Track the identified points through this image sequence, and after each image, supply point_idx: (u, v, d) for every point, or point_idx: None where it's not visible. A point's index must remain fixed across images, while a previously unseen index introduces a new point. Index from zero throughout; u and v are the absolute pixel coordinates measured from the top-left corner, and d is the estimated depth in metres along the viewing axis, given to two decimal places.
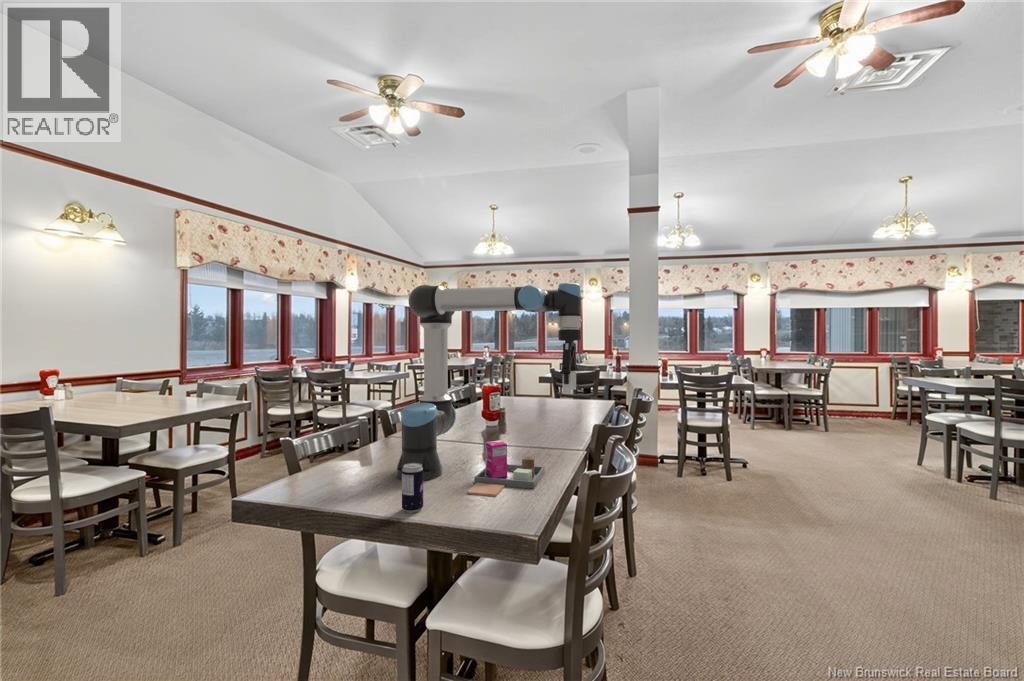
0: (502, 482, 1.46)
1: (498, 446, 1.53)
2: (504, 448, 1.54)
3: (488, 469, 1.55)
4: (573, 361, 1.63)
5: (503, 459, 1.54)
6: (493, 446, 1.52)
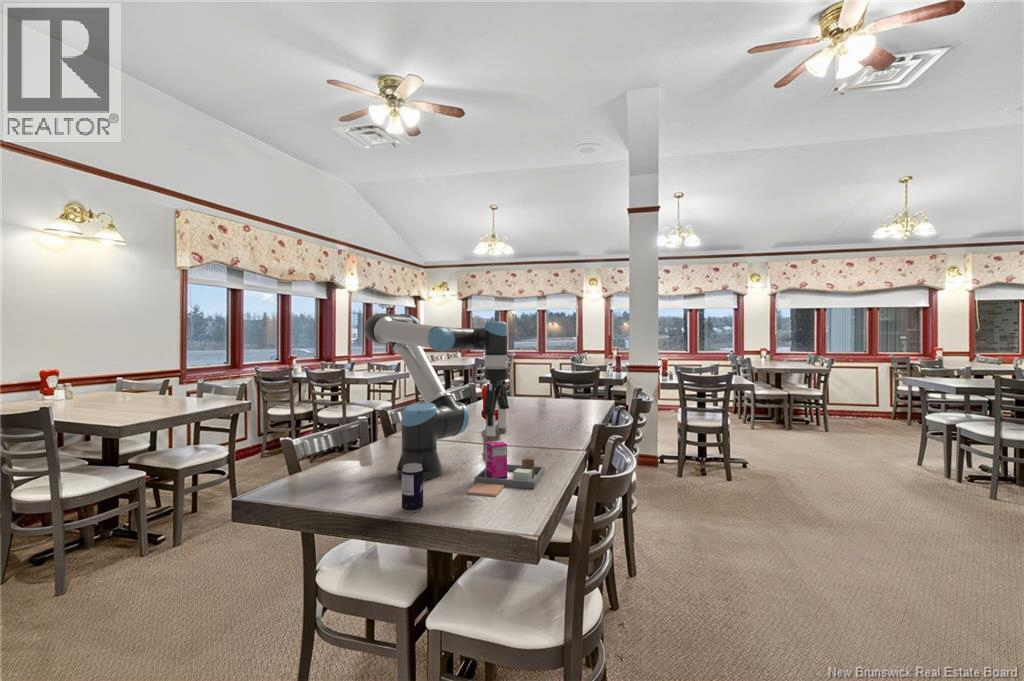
0: (502, 482, 1.46)
1: (498, 446, 1.53)
2: (504, 448, 1.54)
3: (488, 469, 1.55)
4: (502, 400, 1.60)
5: (503, 459, 1.54)
6: (493, 446, 1.52)
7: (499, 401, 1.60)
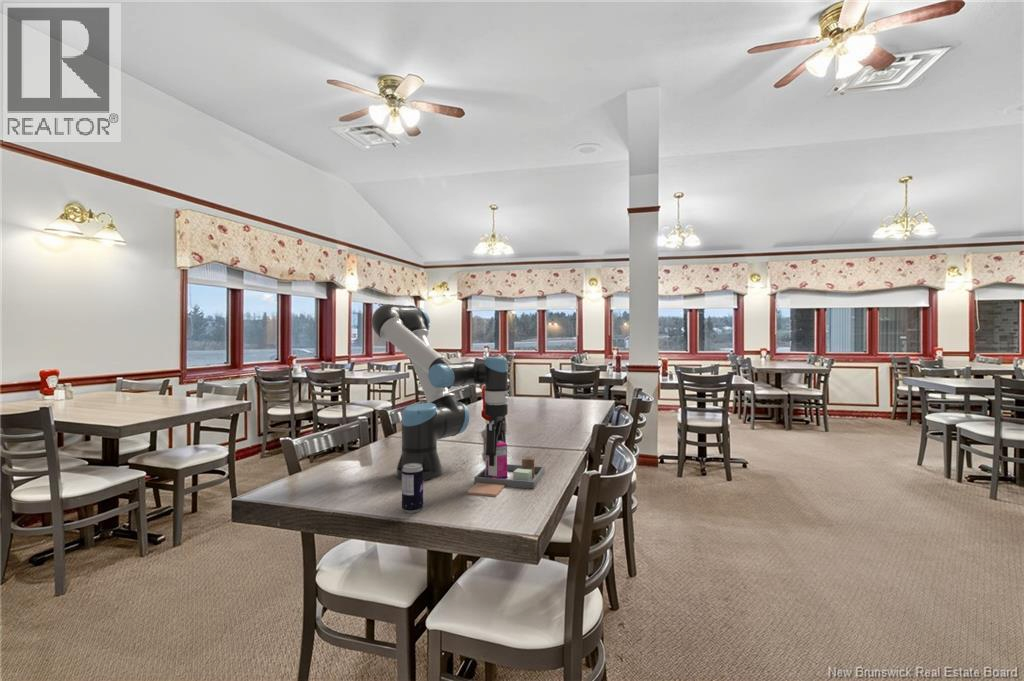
0: (502, 482, 1.46)
1: (498, 446, 1.53)
2: (504, 447, 1.54)
3: None
4: (501, 437, 1.58)
5: (503, 459, 1.54)
6: None
7: (497, 439, 1.59)
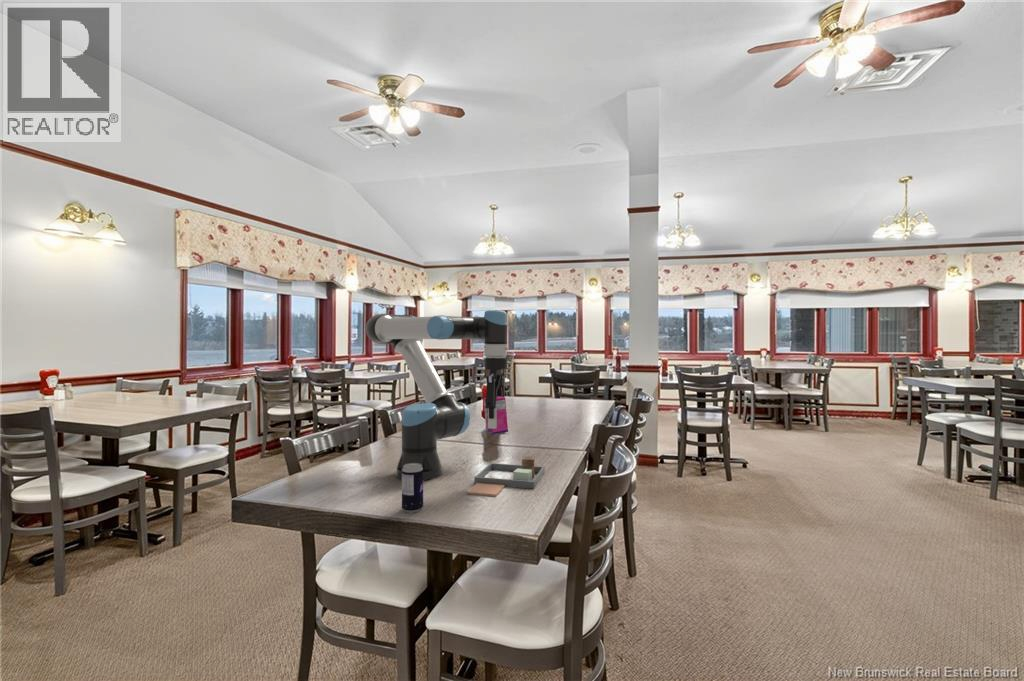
0: (502, 482, 1.46)
1: (497, 400, 1.52)
2: (503, 401, 1.53)
3: None
4: (500, 392, 1.58)
5: (502, 412, 1.53)
6: None
7: (496, 394, 1.58)
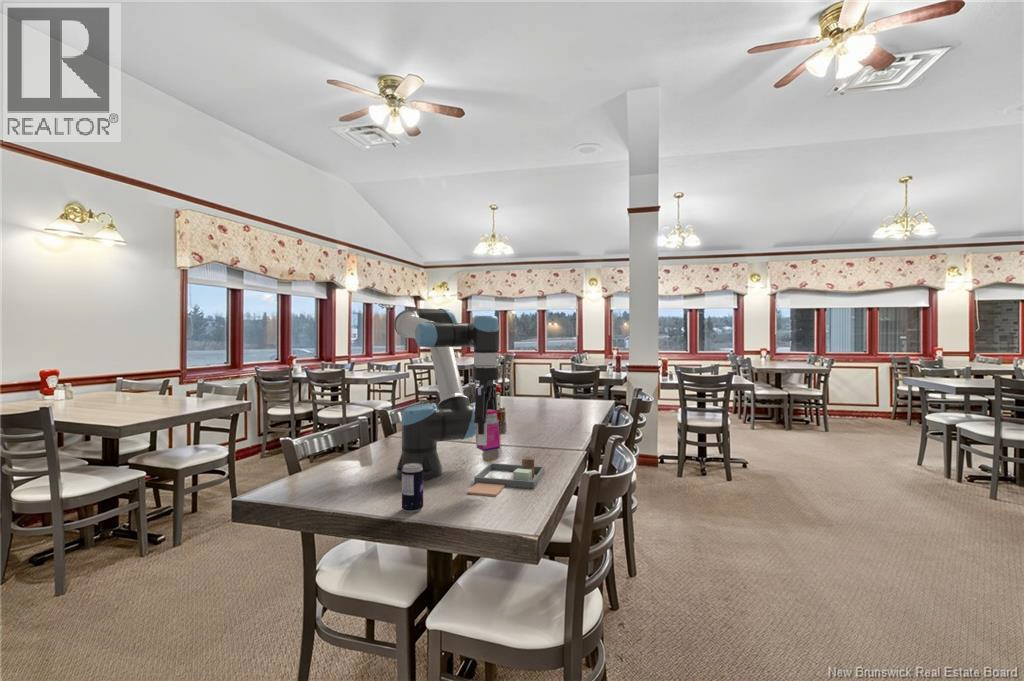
0: (502, 482, 1.46)
1: (487, 413, 1.39)
2: (494, 415, 1.40)
3: None
4: (491, 405, 1.44)
5: (494, 427, 1.40)
6: None
7: (488, 407, 1.45)
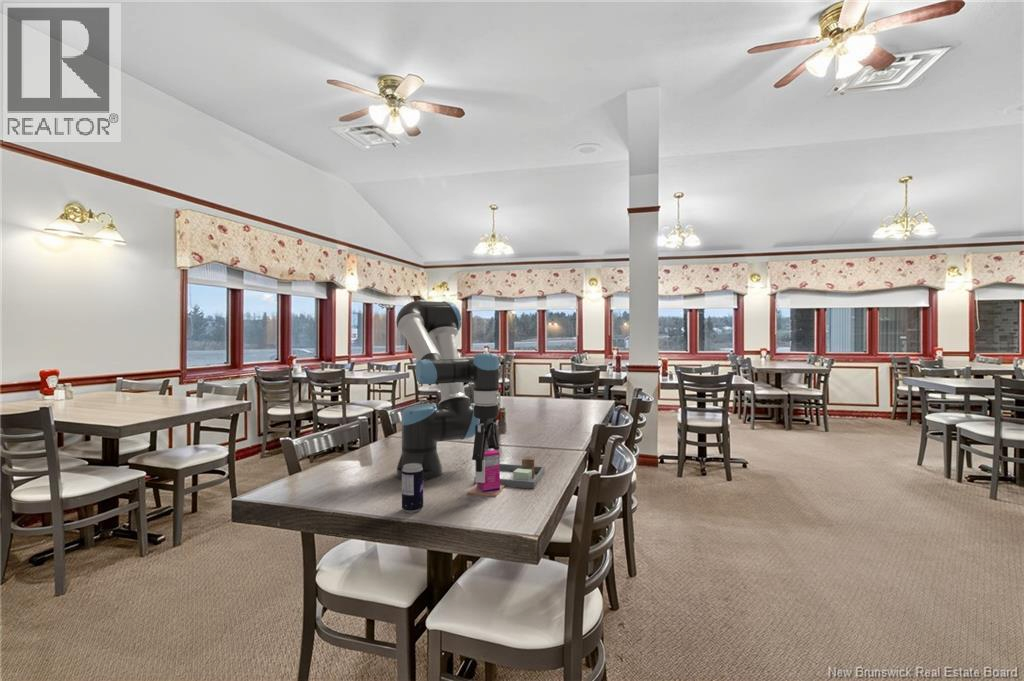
0: (502, 482, 1.46)
1: (490, 455, 1.39)
2: (496, 457, 1.40)
3: None
4: (492, 439, 1.46)
5: (495, 469, 1.40)
6: (484, 455, 1.38)
7: (489, 441, 1.46)
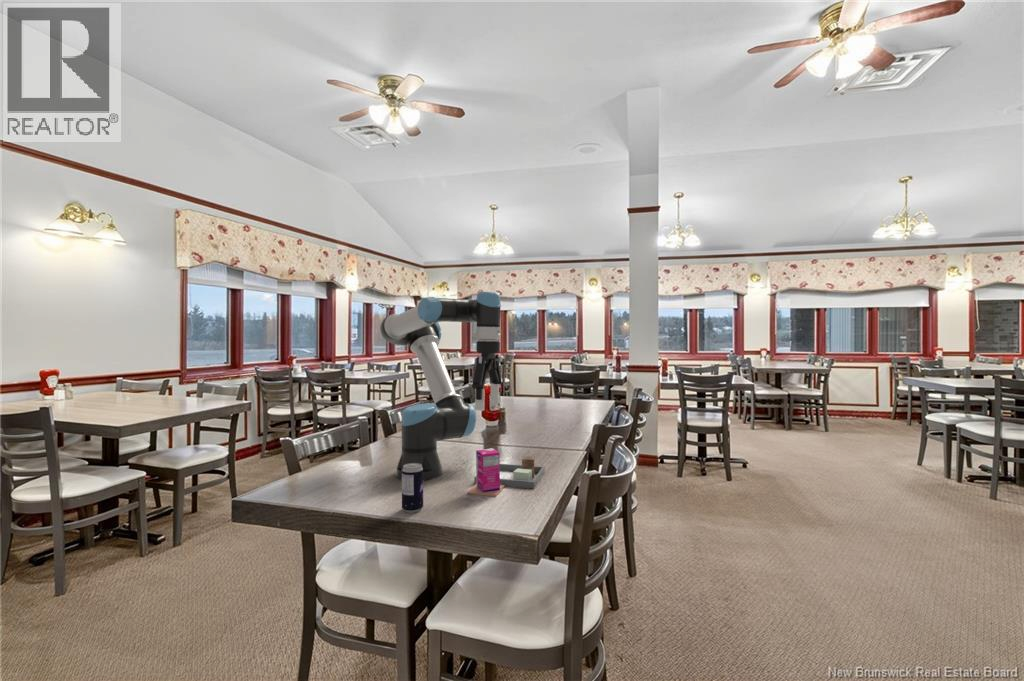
0: (502, 482, 1.46)
1: (490, 455, 1.39)
2: (496, 457, 1.40)
3: (478, 480, 1.41)
4: (494, 374, 1.54)
5: (495, 469, 1.40)
6: (484, 455, 1.38)
7: (491, 376, 1.55)
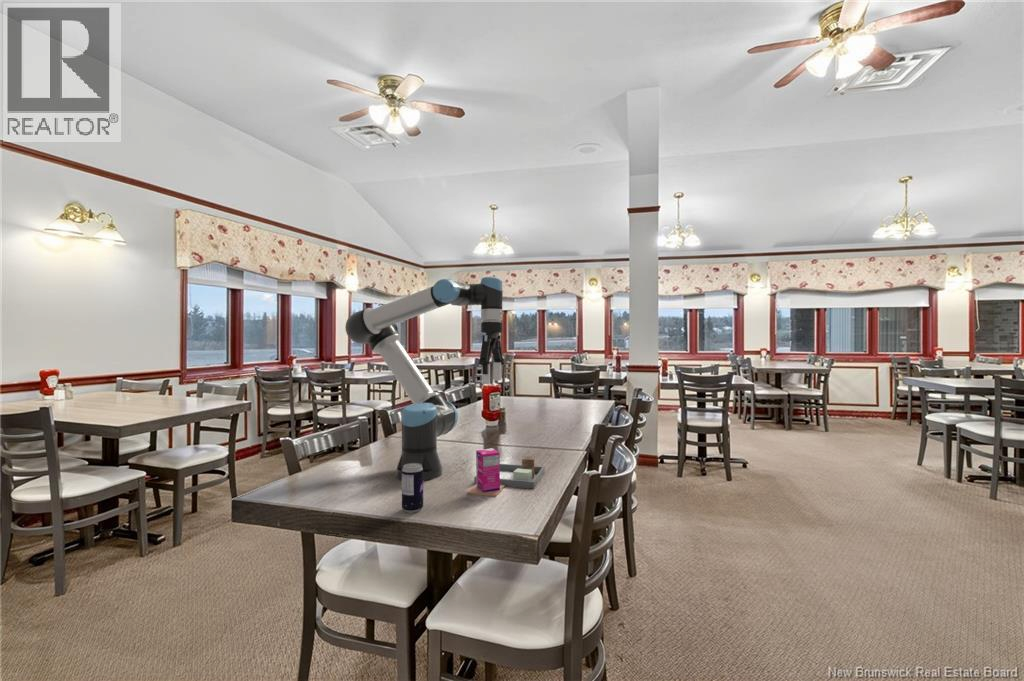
0: (502, 482, 1.46)
1: (490, 455, 1.39)
2: (496, 457, 1.40)
3: (478, 480, 1.41)
4: (497, 353, 1.68)
5: (495, 469, 1.40)
6: (484, 455, 1.38)
7: (494, 354, 1.69)
